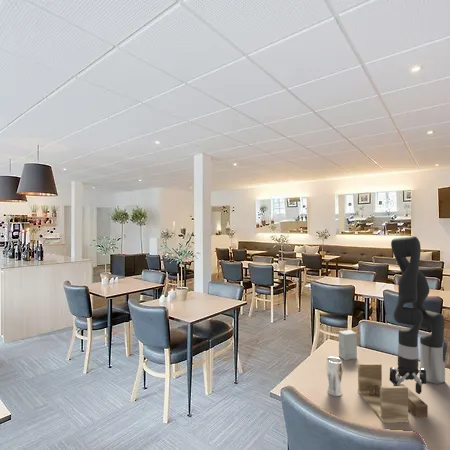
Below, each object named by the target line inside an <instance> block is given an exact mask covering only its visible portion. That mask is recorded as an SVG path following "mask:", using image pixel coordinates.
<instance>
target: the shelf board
mask: <svg viewBox="0 0 450 450" xmlns="http://www.w3.org/2000/svg"><path fill="white" fill-rule="evenodd" d="M392 384H393V383H392ZM392 386H394V384H393V385H392ZM400 386H406V385H405V384H404V383H400ZM428 409H429V408H428V404H426V402H424V400H422V399H421V398H420V397H419V396H417V394H416V393H414V392H413V391H412V390H411V389H410V388H408V411H409V412H410V413H412V415H414V416H415V418H428V417H429V415H428V413H429V412H428V411H429V410H428Z"/></svg>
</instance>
